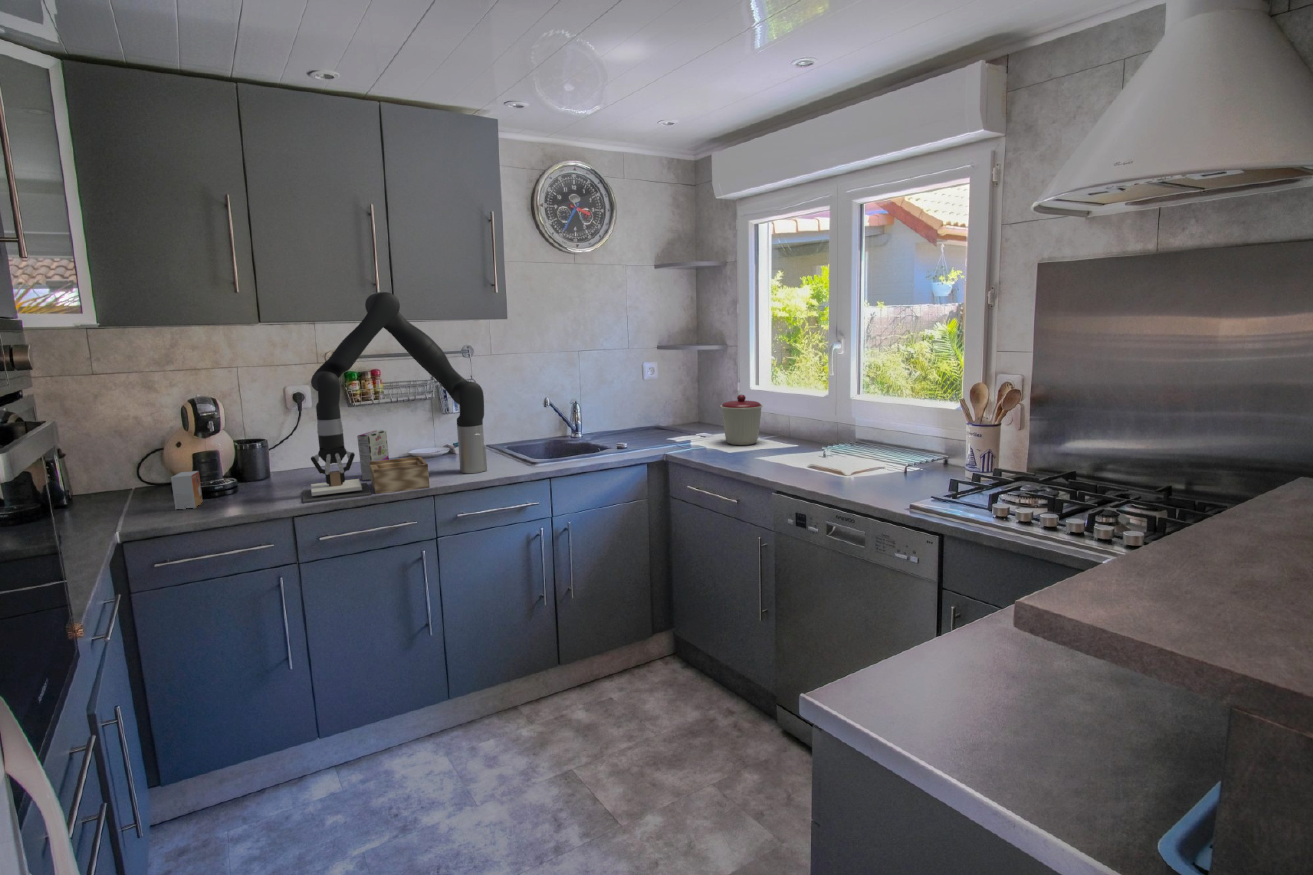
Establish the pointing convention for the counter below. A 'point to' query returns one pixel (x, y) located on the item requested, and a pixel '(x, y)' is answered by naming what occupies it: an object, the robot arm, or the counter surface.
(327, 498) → the rubber mat
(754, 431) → the canister
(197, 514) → the counter surface
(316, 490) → the cover plate
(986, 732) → the counter surface
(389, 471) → the wooden box
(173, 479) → the small box
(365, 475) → the candy bar box
